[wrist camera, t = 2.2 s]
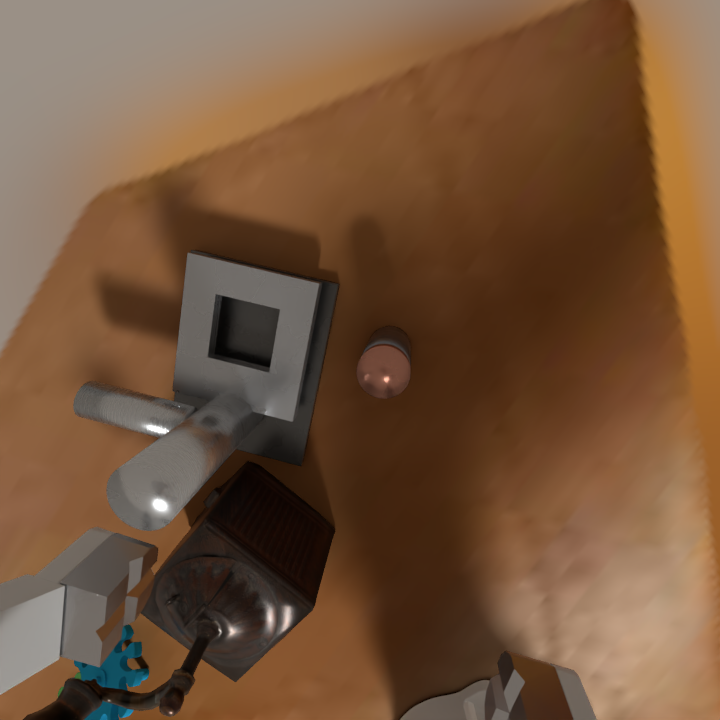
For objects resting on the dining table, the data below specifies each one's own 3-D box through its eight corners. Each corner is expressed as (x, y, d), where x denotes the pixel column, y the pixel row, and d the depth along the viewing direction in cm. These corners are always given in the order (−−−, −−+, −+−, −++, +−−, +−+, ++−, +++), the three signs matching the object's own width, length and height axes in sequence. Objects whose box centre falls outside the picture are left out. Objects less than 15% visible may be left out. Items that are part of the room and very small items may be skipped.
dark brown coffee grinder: (245, 452, 38) (108, 616, 21) (339, 528, 39) (282, 747, 22) (156, 556, 42) (-22, 767, 25) (243, 623, 43) (129, 874, 26)
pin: (415, 331, 34) (416, 353, 26) (405, 371, 35) (403, 404, 27) (373, 321, 34) (362, 340, 26) (364, 361, 35) (351, 391, 27)
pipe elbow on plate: (339, 283, 34) (287, 305, 19) (303, 461, 38) (237, 587, 23) (149, 239, 34) (-36, 227, 20) (134, 417, 39) (-29, 513, 24)
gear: (138, 616, 42) (120, 750, 37) (184, 614, 47) (174, 733, 41) (65, 630, 46) (39, 753, 40) (115, 626, 50) (97, 737, 45)
